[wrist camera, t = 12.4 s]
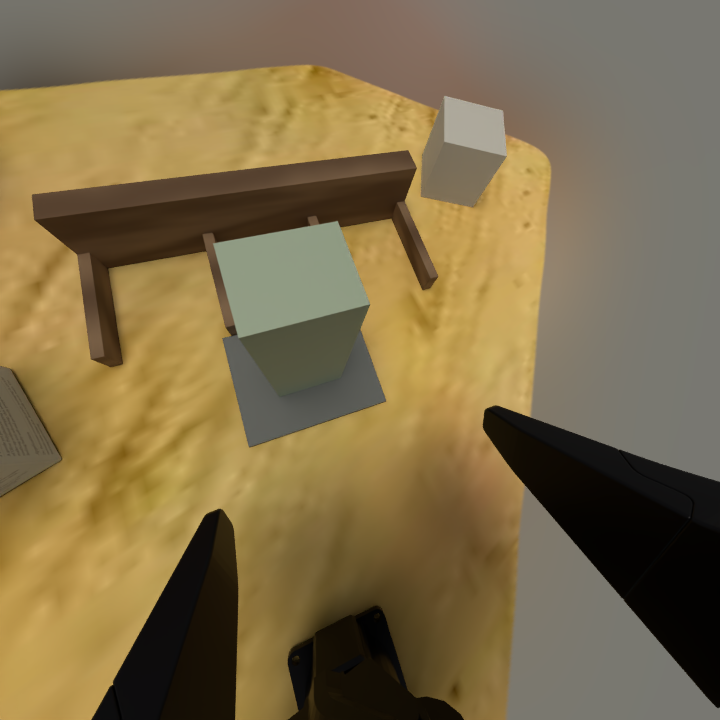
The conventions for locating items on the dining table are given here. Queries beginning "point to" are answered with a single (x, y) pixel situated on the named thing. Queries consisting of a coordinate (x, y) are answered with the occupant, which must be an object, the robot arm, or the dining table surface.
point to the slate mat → (299, 394)
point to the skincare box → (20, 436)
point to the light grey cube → (462, 152)
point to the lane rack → (220, 221)
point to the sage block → (295, 303)
